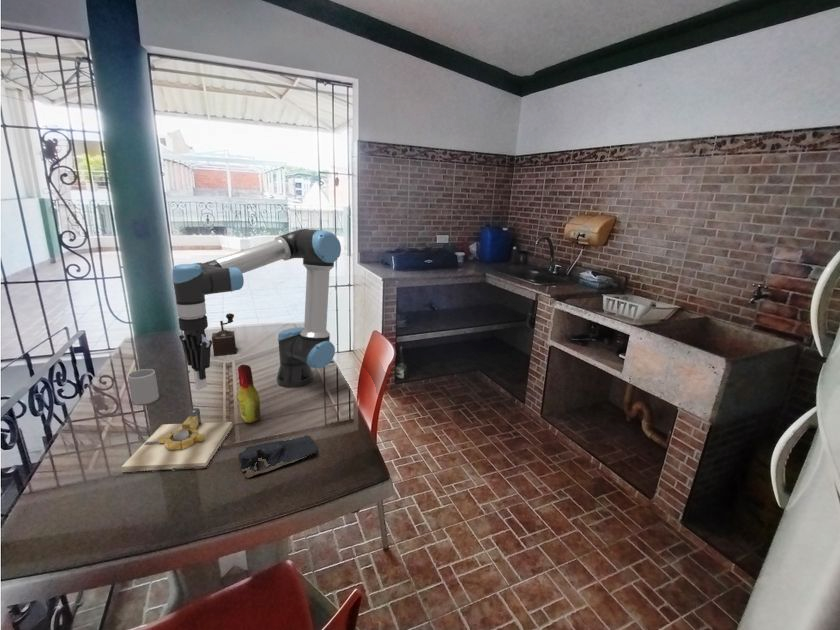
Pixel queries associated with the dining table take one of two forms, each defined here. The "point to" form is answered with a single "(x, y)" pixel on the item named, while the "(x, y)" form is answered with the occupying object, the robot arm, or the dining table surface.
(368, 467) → the dining table surface
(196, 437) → the collar
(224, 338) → the coffee grinder
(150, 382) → the mug
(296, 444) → the dark slate chunk
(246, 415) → the bottle
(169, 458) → the post board
